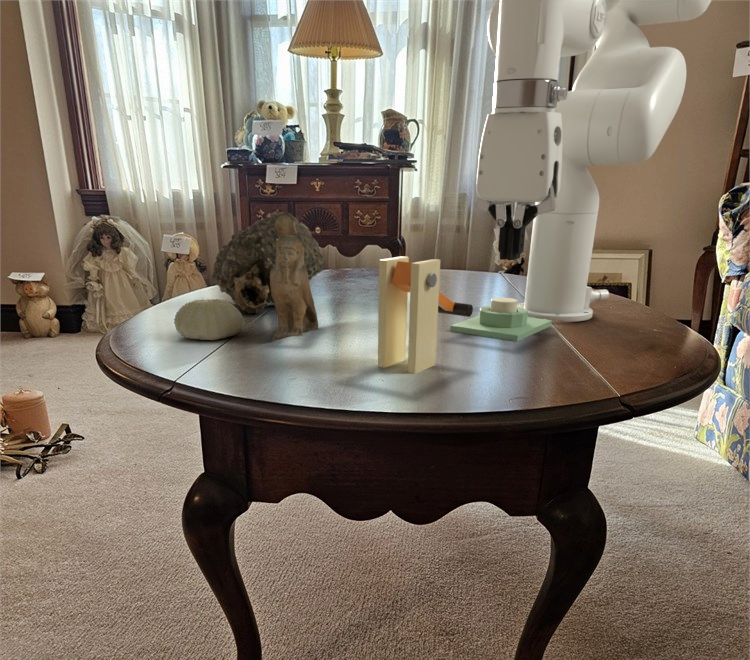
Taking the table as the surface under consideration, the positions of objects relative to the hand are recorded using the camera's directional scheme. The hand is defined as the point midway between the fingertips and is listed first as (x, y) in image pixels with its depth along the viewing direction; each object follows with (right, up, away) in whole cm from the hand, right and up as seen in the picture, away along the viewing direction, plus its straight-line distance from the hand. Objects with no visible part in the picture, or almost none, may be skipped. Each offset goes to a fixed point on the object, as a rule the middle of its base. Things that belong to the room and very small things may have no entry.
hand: (509, 258), depth 88 cm
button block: (0, -10, +4) cm, 11 cm away
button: (0, -7, +3) cm, 7 cm away
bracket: (-15, -19, -14) cm, 27 cm away
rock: (-38, 0, +23) cm, 44 cm away
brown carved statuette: (-30, -10, +4) cm, 31 cm away
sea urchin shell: (-42, -10, +4) cm, 43 cm away
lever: (-12, -10, -14) cm, 21 cm away
